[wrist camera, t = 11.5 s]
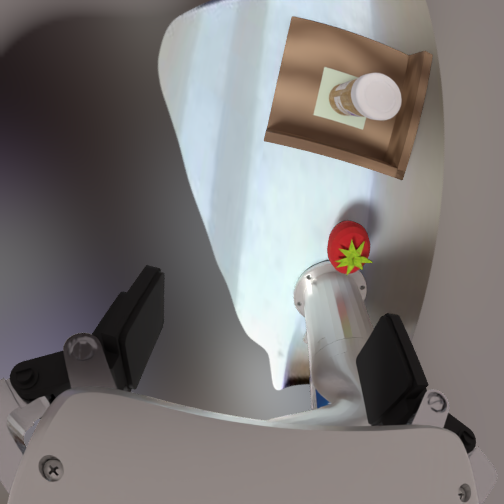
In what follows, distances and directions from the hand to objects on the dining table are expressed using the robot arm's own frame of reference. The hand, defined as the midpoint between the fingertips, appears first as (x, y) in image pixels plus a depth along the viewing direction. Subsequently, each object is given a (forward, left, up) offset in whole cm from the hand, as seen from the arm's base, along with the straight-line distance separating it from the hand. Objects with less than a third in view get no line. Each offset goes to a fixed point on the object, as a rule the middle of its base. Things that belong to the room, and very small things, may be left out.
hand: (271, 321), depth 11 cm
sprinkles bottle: (+12, -7, -30) cm, 33 cm away
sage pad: (+12, -7, -30) cm, 33 cm away
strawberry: (-7, -12, -31) cm, 33 cm away
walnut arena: (+13, -7, -30) cm, 34 cm away
